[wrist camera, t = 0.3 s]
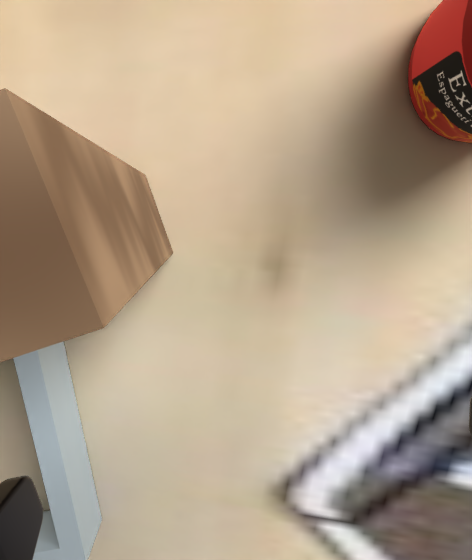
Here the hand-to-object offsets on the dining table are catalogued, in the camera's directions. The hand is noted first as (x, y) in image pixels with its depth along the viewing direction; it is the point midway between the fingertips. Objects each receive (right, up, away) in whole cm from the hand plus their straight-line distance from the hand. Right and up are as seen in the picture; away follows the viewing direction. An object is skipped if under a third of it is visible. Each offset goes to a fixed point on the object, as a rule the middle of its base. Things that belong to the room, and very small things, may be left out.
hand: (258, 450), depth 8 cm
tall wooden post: (-7, +6, +13) cm, 16 cm away
